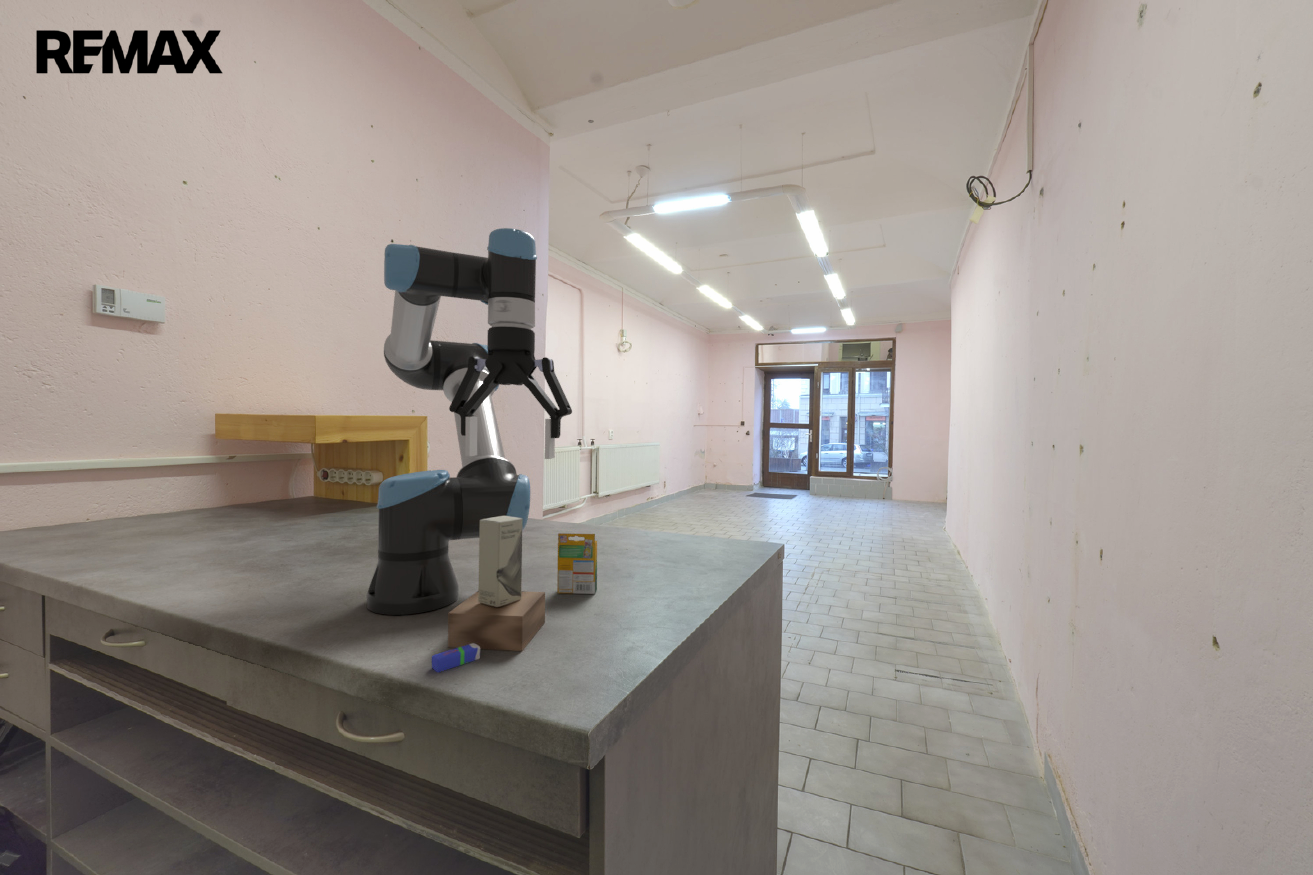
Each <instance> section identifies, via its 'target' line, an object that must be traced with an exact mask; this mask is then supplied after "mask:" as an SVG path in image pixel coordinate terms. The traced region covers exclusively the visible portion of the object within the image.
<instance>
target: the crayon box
mask: <svg viewBox="0 0 1313 875" xmlns="http://www.w3.org/2000/svg"><path fill="white" fill-rule="evenodd" d="M557 537H558V538H557V585H556V586H557V587H556V588H557V589H556V591H557V594H558V595H559V594H577V595H578V594H580V595H581V594H583V595H584V594H585V595H586V594H587V595H595V594H596V592H597V590H598V540H596V533H567V532H566V533H563V532H562V533H557ZM575 537H578V538H584V540H579V539H578V540H574V539H569V538H575Z"/></svg>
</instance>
